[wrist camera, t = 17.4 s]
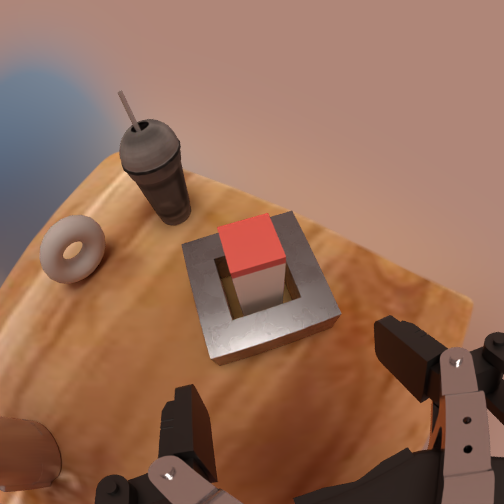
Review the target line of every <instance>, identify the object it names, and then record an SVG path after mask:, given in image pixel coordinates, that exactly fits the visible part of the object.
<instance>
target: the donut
mask: <svg viewBox="0 0 504 504" xmlns="http://www.w3.org/2000/svg"><path fill="white" fill-rule="evenodd" d="M78 241H80V242H82V244H83V245H82V249H81V251H80V252H79V253H78V254H77V255H76V256H75V257H73V258H71V259H65V258H63V253H64V251H65V249H66V248H67V247H68V246H69V245H70V244H71V243H74V242H78ZM104 250H105V236H104V233H103V231H102V229H101V227H100V225H99V224H98V223H97V222H96V221H94V220H93V219H92V218H90V217H87V216H83V215H72V216H68V217H66V218H63V219H61V220H59V221H58V222H56V223H55V224H54V225H53V226H51V228H50V229H49V230H48V232H47V233H46V234H45V236H44V238H43V241H42V244H41V246H40V262H41V265H42V268H43V270H44V272H45V273H46V274H47V275H48V276H49V278H50V279H52V280H54V281H56V282H59V283H66V284H69V283H74V282H78V281H80V280H82V279H84V278H86V277H87V276H88V275H90V274H91V273H92V272H93V271H94V270H95V269H96V267H97V266H98V265H99V263H100V261H101V259H102V257H103V255H104Z"/></svg>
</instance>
